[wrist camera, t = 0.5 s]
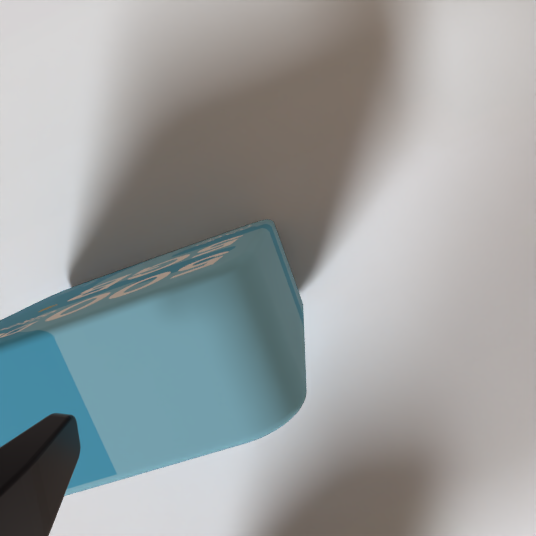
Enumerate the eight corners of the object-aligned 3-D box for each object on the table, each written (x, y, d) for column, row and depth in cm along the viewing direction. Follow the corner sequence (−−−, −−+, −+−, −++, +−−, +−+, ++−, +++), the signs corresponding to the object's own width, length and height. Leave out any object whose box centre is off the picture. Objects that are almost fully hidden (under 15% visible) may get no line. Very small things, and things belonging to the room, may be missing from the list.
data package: (274, 214, 22) (247, 258, 10) (304, 299, 23) (311, 428, 11) (57, 292, 24) (-178, 405, 12) (92, 369, 24) (-98, 547, 13)
